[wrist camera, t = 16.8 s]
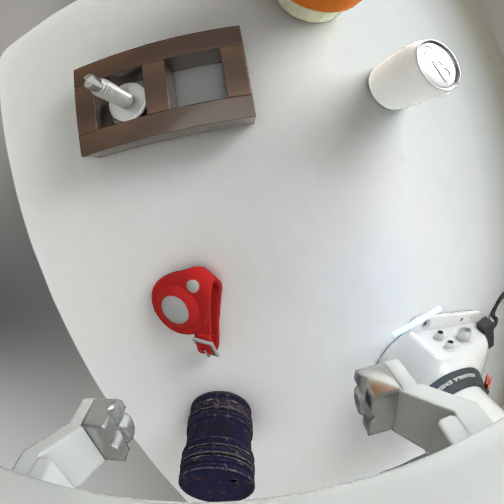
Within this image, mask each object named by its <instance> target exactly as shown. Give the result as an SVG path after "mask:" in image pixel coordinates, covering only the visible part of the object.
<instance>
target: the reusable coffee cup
mask: <svg viewBox="0 0 504 504" xmlns="http://www.w3.org/2000/svg"><path fill="white" fill-rule="evenodd" d="M360 1H361V0H278V2H279V4H280V5H281V7H282V8H283V9H284V10H285V11H286V12H287V13H289V14H290V15H292V16H294V17H296V18H297V19H300V20H303V21H307V22H313V23H321V22H327V21H330V20H332V19H334V18H335V17H337V16H338V15H339V14H340V13H341V12H342V11H345V10H348V9H350V8H352V7H354V6H355V5H356V4H357V3H359V2H360Z"/></svg>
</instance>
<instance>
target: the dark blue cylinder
mask: <svg viewBox="0 0 504 504" xmlns="http://www.w3.org/2000/svg"><path fill="white" fill-rule="evenodd" d="M252 436H253V424H252V419H251V409H250V406H249V405H248V403H247V402H246V401H245V400H244V399H243V398H241V397H240V396H238V395H235V394H233V393H229V392H224V391H214V392H208V393H205V394H203V395H201V396H199V397H198V398H196V399H195V400H194V402H193V403H192V406H191V412H190V415H189V418H188V426H187V443H186V446H185V448H184V450H183V453H182V459H181V464H180V475H179V482H178V483H179V486H180V488H181V489H182V490H183V491H184V492H185V493H186V494H188V495H190V496H192V497H194V498H196V499H199V500H203V501H207V502H222V501H239V500H242V499H245V498H247V497H248V496H250V495H251V494H252V493H253V492H254V489H255V482H254V475H255V466H254V456H253V453H252V451H251V441H252Z"/></svg>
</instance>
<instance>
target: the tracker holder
mask: <svg viewBox="0 0 504 504" xmlns="http://www.w3.org/2000/svg"><path fill="white" fill-rule="evenodd" d="M221 291H222V285H221V282H220V280H218V279H217V278H216V277H215V276H214V275H213V274H212V273H211V272H210V271H208V270H207V269H206V268H204V267H192V268H189V269H186V270H183V271H176V272H173V273H170V274H168V275H166V276H164V277H162V278H161V279H160V280H158V281H157V283H156V284H155V286H154V287H153V291H152V303H153V307H154V310H155V312H156V314H157V316H158V317H159V318H160V320H161V321H162V322H163V323H164V324H165V325H166V326H167V327H169V328H170V329H172V330H173V331H175V332H178V333H181V334H194V335H195V337H193V339H192V340H193V341H194V343H195V344H196V346H197V348H198V351H199V352H200V353H204V354H206V355H207V356H208V357H210V355H213V356H216V357H219V353H218V351H217V350H218V347H219V316H220V303H221ZM212 334H213V335H214V337H213V336H212Z"/></svg>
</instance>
